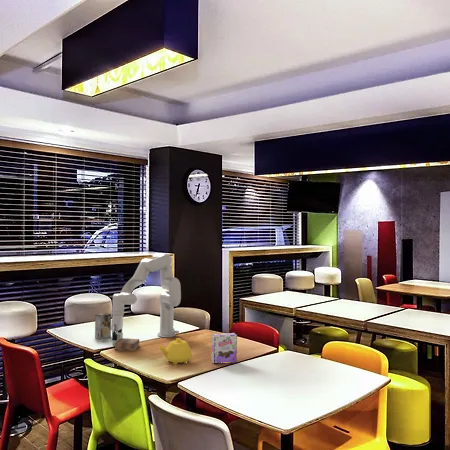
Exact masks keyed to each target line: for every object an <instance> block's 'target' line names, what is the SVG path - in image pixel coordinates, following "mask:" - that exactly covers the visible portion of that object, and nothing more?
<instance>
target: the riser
mask: <svg viewBox="0 0 450 450" xmlns="http://www.w3.org/2000/svg"><path fill="white" fill-rule="evenodd" d="M139 347H140V338H127V337H126V338H125V337H124V338H121V339H120V340H118V341H117V342H116V343H115V345H114V351H121V352H123V351H126V352H134V351H136V350H137V349H138V348H139Z"/></svg>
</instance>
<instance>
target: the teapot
mask: <svg viewBox="0 0 450 450" xmlns="http://www.w3.org/2000/svg"><path fill="white" fill-rule="evenodd" d="M158 349H159V351H160V352H161V353H162V354H163V355H164V357H165V359H166V360H167V361H170V362H169V363H172V365H173V364H179V363H183V362H184V363H186V362H188V361H190V359H191V358H192V356H193V355H192V353H193V351H192V349H191V347H190V345H189V343H188V342H187V341H186V340H184V339H182V338H179V337H177V338H175V340H171V341H170V342H169V343H168V345H167V347H166V348H165V347H164V345H160V346H159V347H158ZM184 363H183V364H184Z"/></svg>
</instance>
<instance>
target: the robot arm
mask: <svg viewBox="0 0 450 450" xmlns="http://www.w3.org/2000/svg"><path fill="white" fill-rule="evenodd" d="M172 262H173V261H172V257H171V255H169V254H166V253H160V252H157V253H154V254H152V257H151V258H143V259H142V260H141V261H140V263H139V264H138V266H137V268H136V270H135V272H134V274H133V276H132V277H131V278H130V279H129V280H128V281H127V282H126V283H125V284H124V285H123V287H122V289H121V291H120V293H114V294H113V295H112V306H111V307H112V308H111V309H112V312H111V341H113V340H114V341H116V340H117V333H123V328H124V315H125V305H126V306H127V305H128V306H131V305H135V304H136V302H137V300H138V298H137V296H136V294H133V290H134V289H135V288H137V287H138V286H140V285H142V284H144V283H145V281H146V280H147V277H148V276H149V273H150V272H151V273H153V272H157V271H159V272H160V274H159V275H160V287H161V288H162V289H163V290H165V291H162V292H161V293H160V294H159V299H158V300H159V307H160V311H159V312H160V314H159V315H160V316H159V332H158V333H157V336H158V337H159V338H172V337H175V336H176V334H177V335H179V334H180V331H179V330H175V328H174V317H175V316H174V315H175V314H174V313H175V310H174V309H175V308H174V307H178V306H179V305H180V304H181V300H182V291H181V288H182V287H181V282H180V280H179V279H178V278H177V277H175V276H174V277H173V275H174V274H173V269H172Z"/></svg>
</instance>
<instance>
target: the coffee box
mask: <svg viewBox="0 0 450 450" xmlns="http://www.w3.org/2000/svg"><path fill="white" fill-rule="evenodd" d="M94 316H95V317H94V321H95V322H94V323H95V324H94V338H95V339H97V340H98V339H99V340H102V339H106V338H112V330H111V324H112V313H108V312H106V313H104V312H103V313H98V314H95V315H94Z"/></svg>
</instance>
